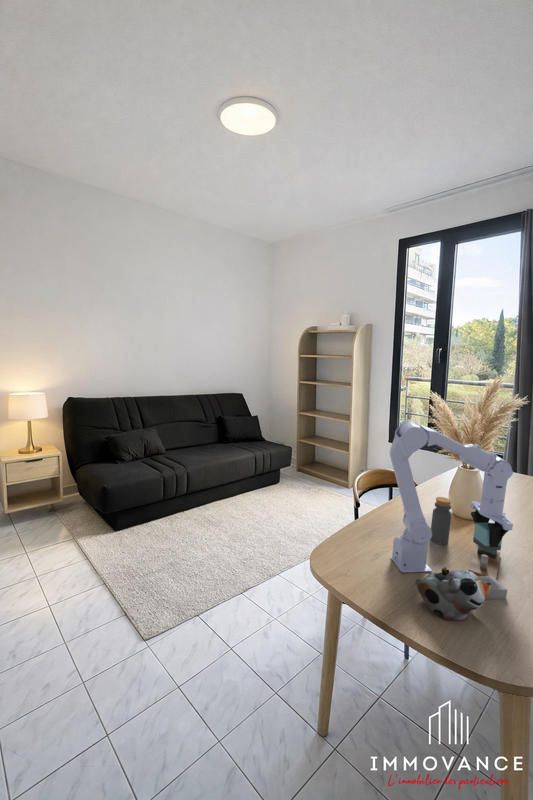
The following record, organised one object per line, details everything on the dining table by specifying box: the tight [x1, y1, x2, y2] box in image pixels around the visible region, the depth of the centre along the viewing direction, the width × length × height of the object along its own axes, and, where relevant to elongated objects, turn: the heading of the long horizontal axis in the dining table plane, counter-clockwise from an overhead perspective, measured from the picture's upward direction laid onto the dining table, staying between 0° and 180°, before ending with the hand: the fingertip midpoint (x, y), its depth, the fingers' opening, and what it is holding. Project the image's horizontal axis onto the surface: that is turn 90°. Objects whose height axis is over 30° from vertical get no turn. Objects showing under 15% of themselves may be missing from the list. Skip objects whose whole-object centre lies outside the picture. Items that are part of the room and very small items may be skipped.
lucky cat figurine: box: [415, 566, 491, 621], centre depth 92 cm, size 15×12×14 cm
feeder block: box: [478, 576, 508, 600], centre depth 101 cm, size 6×6×2 cm
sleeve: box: [472, 522, 503, 551], centre depth 107 cm, size 5×5×6 cm
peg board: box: [467, 544, 501, 580], centre depth 113 cm, size 18×7×8 cm, turn 144°
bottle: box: [430, 496, 452, 545], centre depth 127 cm, size 6×6×15 cm
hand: (486, 541), depth 108 cm, fingers closed on sleeve, 5 cm apart
